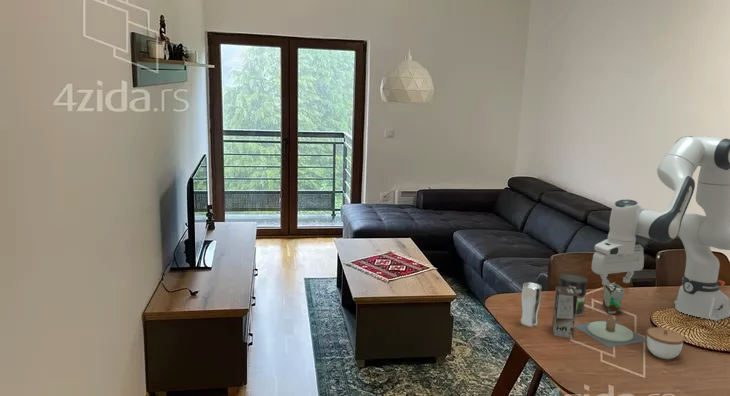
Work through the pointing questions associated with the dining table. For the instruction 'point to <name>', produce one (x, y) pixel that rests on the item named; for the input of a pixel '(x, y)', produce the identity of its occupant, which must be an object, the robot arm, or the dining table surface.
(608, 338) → the lid
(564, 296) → the coffee box
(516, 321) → the dining table surface
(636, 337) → the mat
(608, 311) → the food container
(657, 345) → the lidded jar
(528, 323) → the beer glass
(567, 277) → the coffee can
